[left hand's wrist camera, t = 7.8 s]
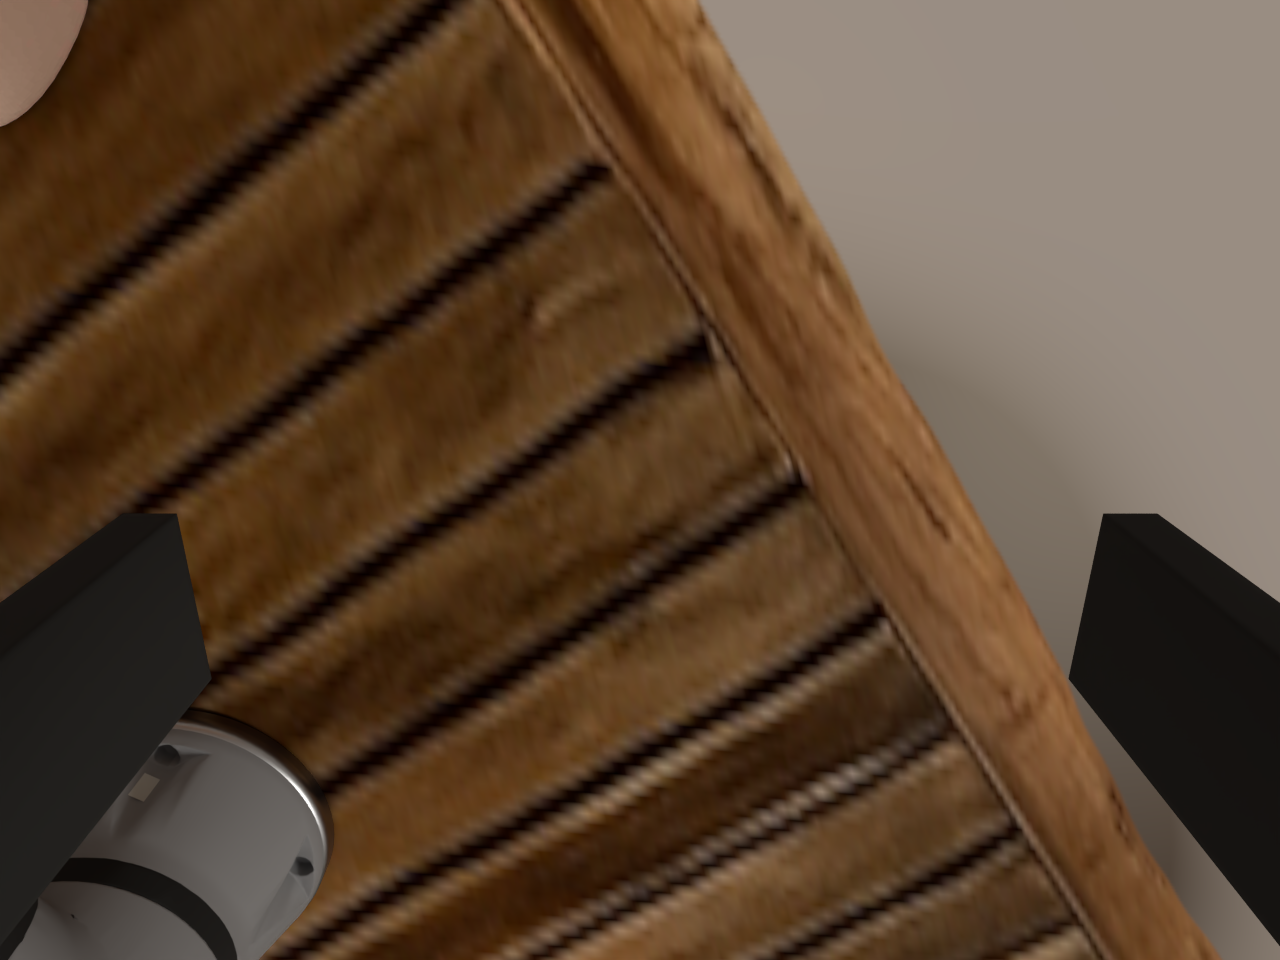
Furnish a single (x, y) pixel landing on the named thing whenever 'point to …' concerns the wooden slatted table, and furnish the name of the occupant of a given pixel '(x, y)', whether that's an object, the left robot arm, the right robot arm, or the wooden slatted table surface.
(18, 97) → the anatomical model
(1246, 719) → the left robot arm
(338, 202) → the wooden slatted table surface
